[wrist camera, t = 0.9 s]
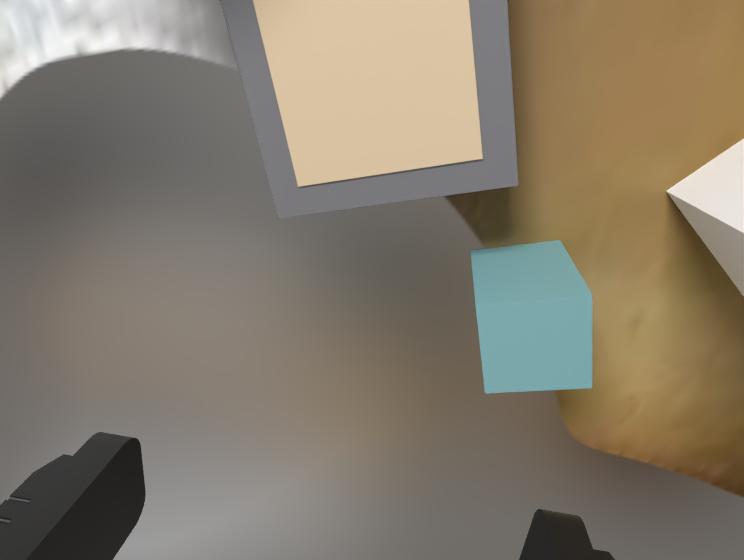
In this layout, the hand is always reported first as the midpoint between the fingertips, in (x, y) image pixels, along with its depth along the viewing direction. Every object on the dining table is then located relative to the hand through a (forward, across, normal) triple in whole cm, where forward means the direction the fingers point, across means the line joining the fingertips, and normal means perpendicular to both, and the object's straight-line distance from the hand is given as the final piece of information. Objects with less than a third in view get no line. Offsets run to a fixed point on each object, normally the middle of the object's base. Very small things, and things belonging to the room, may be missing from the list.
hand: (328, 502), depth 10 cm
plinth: (+20, +2, -8) cm, 22 cm away
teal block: (+20, -8, +2) cm, 22 cm away
